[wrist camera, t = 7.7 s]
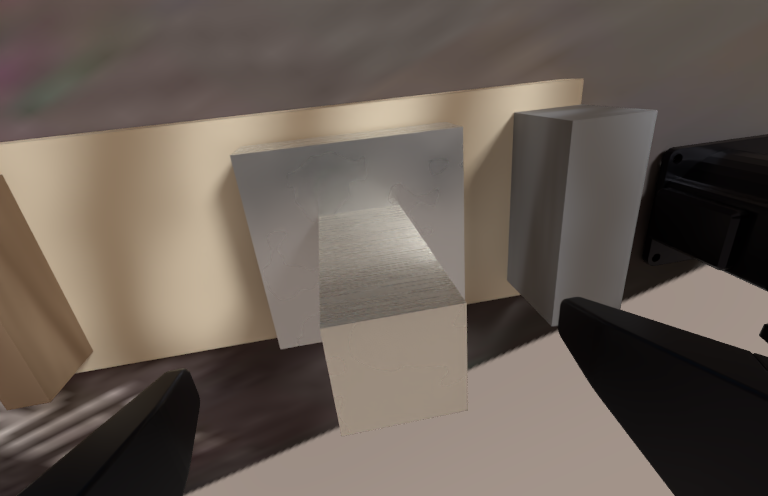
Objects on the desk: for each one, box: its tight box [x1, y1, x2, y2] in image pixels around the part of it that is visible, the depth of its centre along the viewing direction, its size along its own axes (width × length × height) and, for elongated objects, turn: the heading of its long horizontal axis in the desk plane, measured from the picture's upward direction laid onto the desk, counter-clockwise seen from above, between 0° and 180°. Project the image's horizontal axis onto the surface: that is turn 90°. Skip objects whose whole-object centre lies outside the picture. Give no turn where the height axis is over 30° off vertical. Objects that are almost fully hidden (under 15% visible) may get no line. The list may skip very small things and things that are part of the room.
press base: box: [0, 79, 658, 410], centre depth 15 cm, size 24×10×6 cm, turn 96°
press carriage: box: [230, 122, 468, 436], centre depth 12 cm, size 8×8×9 cm
